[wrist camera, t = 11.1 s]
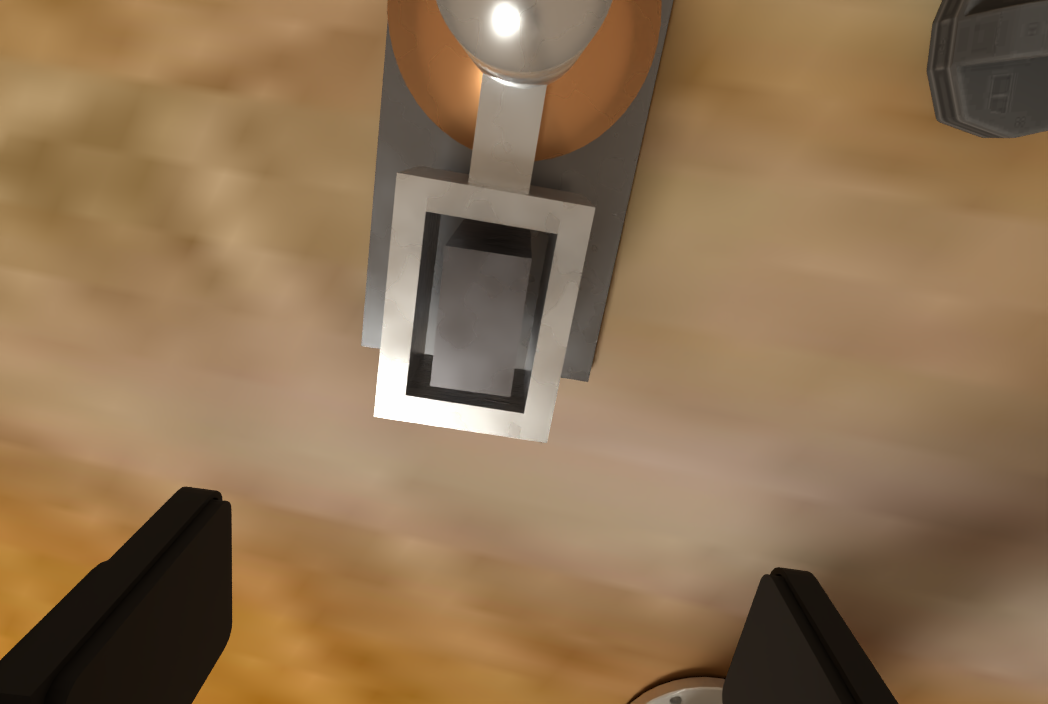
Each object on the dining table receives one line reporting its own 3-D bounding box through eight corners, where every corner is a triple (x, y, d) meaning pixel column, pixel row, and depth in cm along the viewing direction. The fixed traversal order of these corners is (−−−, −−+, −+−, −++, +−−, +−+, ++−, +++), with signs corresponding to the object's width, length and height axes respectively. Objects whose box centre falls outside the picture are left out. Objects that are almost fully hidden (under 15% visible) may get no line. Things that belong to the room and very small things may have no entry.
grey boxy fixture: (586, 375, 35) (626, 535, 21) (365, 340, 35) (256, 482, 21) (679, -44, 28) (833, -221, 14) (402, -100, 27) (273, -345, 13)
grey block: (514, 322, 33) (510, 397, 24) (456, 314, 33) (430, 385, 24) (529, 220, 31) (531, 258, 22) (469, 211, 31) (444, 245, 22)
